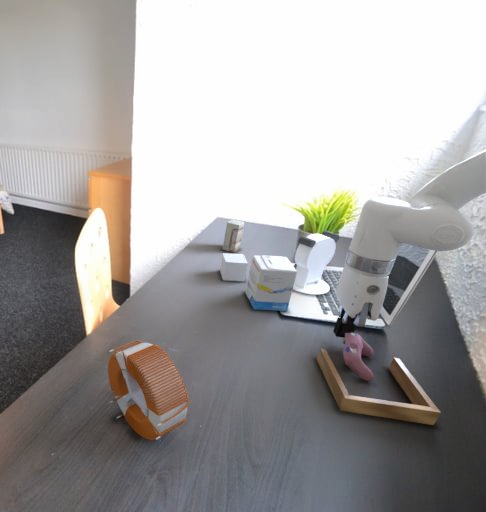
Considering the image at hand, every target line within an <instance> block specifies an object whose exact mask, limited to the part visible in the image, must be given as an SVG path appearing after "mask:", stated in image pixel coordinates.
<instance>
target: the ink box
mask: <svg viewBox="0 0 486 512" xmlns="http://www.w3.org/2000/svg"><path fill="white" fill-rule="evenodd" d="M296 274H297V271H296V269H295V268H294V265H293V264H292V262H291V261H290V260H289V258H288V257H287V256H280V255H265V254H263V255H259V254H258V255H255V254H254V255H252V258H251V262H250V267H249V273H248V278H247V283H246V288H245V295H246V297H247V298H248V301H249V302H250V304H251V307H252V309H253V310H263V311H275V312H288V309H289V305H290V302H291V297H292V294H293V291H294V290H293V286H294V282H295V278H296Z"/></svg>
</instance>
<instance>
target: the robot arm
mask: <svg viewBox="0 0 486 512" xmlns="http://www.w3.org/2000/svg"><path fill="white" fill-rule="evenodd" d="M484 194H486V149H484V150H483V151H480V152H478V153H476V154H474V155H472V156H470V157H468V158H467V159H465V160H463V161H461V162H458V163H456V164H455V165H453V166H451V167H449V168H448V169H446V170H444V171H442V172H441V173H439V174H438V175H436V176H435V177H434V178H433V179H431V180H429V181H428V182H427V183H426V184H425V185H423V186H422V187H421V188H420V189H419V190H417V191H416V192H414V194H413V195H411V196H410V197H409V198H408V199H407V200H406V201H403V200H400V199H396V198H388V197H374V198H371V199H368V200H367V201H365V203H364V204H363V206H362V208H361V211H360V214H359V218H358V220H357V223H356V226H355V230H354V233H353V235H352V238H351V241H350V244H349V247H348V251H347V253H346V256H345V260H344V267H343V269H342V272H341V274H340V276H339V279H338V281H337V284H336V288H335V291H334V293H335V294H334V295H335V298H336V299H337V301H338V303H339V308H338V312H337V319H336V322H335V325H334V327H333V332H332V333H334V336H335V337H337V338H342V339H343V338H344V339H345V333H355V331H356V328H357V327H360V328H361V327H362V328H365V326H366V323H367V318H369V319H370V320H371V321H377V320H378V318H379V316H380V314H381V311H382V308H383V305H384V301H385V298H386V295H387V291H388V285H389V275H390V274H391V272H392V269H393V267H394V264H395V263H396V262H395V261H396V259H397V257H398V254H399V251H400V249H401V247H402V245H403V244H405V245H408V246H409V245H410V246H414V247H417V248H421V249H424V250H429V251H435V252H448V251H449V252H450V251H454V250H457V249H460V248H462V247H464V246H466V245H467V244H469V242H470V241H471V240H472V238H473V236H474V233H475V227H474V224H473V222H472V220H471V219H470V218H469V217H468V216H467V215H466V214H465V213H463V212H462V211H461V210H460V209H461V208H462V207H464V206H466V205H467V204H468V203H470V202H471V201H473V200H475V199H476V198H478V197H480V196H482V195H484Z"/></svg>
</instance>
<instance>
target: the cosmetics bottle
mask: <svg viewBox="0 0 486 512" xmlns="http://www.w3.org/2000/svg"><path fill="white" fill-rule="evenodd" d="M245 223H246V221H244V220H240V219H235V218H232V219H230V220H228V221H227V222H226V227H225V232H224V238H223V244H222V250H224V251H226V252H231V253H232V254H235V253H236V252H238V251H239V250H240V247H241V244H242V239H243V233H244V230H245V229H244V228H245Z"/></svg>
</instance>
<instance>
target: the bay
mask: <svg viewBox="0 0 486 512" xmlns="http://www.w3.org/2000/svg"><path fill="white" fill-rule="evenodd" d="M316 362H317V364H318V366H319V368H320V370H321V371H322V375H323V376H324V378H325V380H326V382H327V384H328V387H329V389H330V391H331V393H332V396H333V397H334V399H335V402H336V404H337V406H338V408H339V410H340V412H345V413H346V412H347V413H353V414H359V415H366V416H373V417H379V418H386V419H392V420H398V421H405V422H410V423H417V424H422V425H423V424H424V425H428V426H429V425H430V426H435V424H436V422H437V421H438V419H439V418H440V415H441V413H442V412H441V410H440V409H439V408H438V407H437V406H436V404H435V403H434V402H433V400H432V399H431V398H430V396H429V395H428V394H427V392H425V390H424V389H423V387H422V386H421V385H420V384H419V382H418V381H417V379H416V378H415V377H414V376H413V374H412V373H411V372H410V371H409V369H408V368H407V367H406V365H405V363H404V362H402V360H401V359H400V358H399V357H393V358H392V361H391V362H390V365H389V367H388V370H389V372H390V373H391V375H392V376H393V378H394V379H395V381H396V382H397V383H398V385H399V386H400V388H401V389H402V390H403V392H404V393H405V395H406V396H407V397H408V399H409V400H410V402H411V403H406V402H400V401H399V402H398V401H393V400H386V399H380V398H379V399H378V398H371V397H365V396H358V395H351V394H350V393H349V391H348V390H347V388H346V386H345V384H344V382H343V380H342V378H341V376H340V374H339V372H338V370H337V368H336V366H335V365H334V362H333V361H332V359H331V357H330V355H329V353H328V351H327V349H326V348H320V349H319V351H318V354H317V358H316Z"/></svg>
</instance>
